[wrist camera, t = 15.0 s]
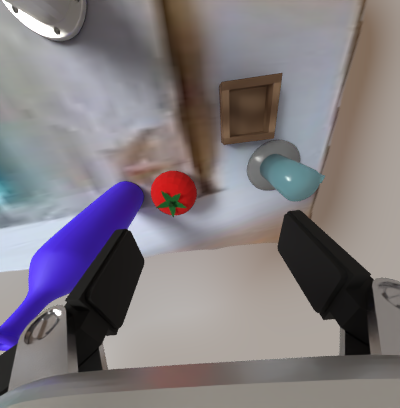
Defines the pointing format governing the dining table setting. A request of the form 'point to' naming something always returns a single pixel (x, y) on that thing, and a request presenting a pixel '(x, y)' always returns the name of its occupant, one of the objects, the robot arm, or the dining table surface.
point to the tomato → (173, 193)
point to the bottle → (71, 254)
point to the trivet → (263, 152)
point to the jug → (290, 177)
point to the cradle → (249, 108)
